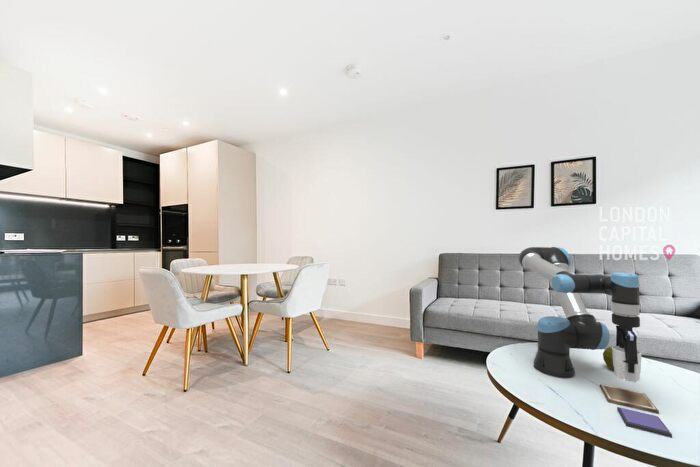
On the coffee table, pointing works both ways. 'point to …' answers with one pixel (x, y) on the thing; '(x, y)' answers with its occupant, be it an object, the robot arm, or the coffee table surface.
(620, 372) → the white cup
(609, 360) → the apple
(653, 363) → the coffee table surface
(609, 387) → the brown square coaster
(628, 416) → the ink pad
